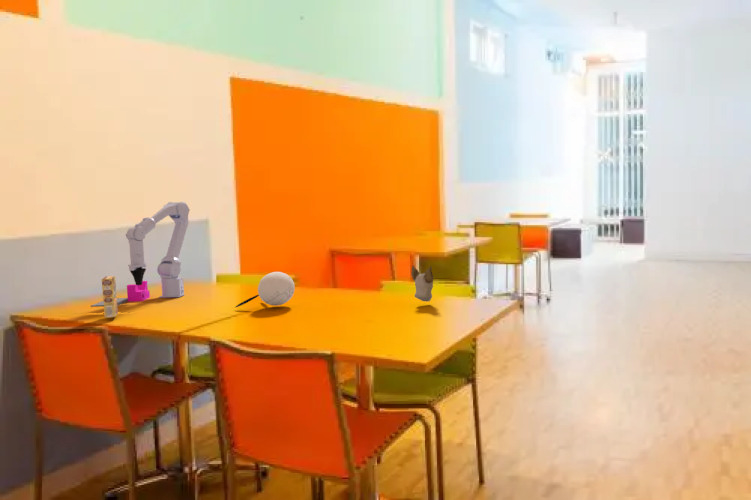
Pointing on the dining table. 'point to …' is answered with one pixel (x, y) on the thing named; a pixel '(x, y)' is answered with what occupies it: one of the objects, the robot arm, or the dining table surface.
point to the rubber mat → (119, 301)
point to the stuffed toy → (274, 289)
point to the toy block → (138, 292)
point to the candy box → (109, 296)
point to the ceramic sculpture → (423, 284)
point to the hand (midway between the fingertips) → (138, 285)
